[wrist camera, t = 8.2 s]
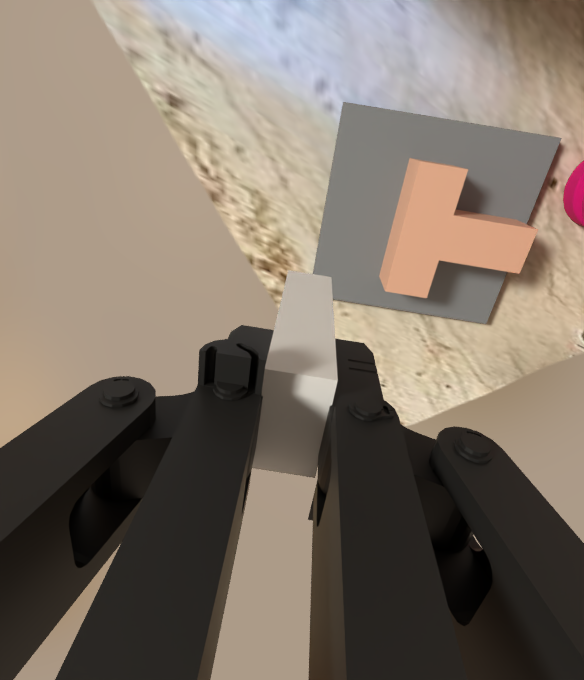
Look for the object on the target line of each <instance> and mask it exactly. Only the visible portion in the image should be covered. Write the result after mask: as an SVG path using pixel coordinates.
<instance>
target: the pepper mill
mask: <svg viewBox="0 0 584 680" xmlns="http://www.w3.org/2000/svg"><path fill="white" fill-rule="evenodd" d="M563 201H564V208H565V211H566V213H567V215H568V216H569V217H570V218H571V219H572V220H573V221H574V222H575V223H577V224H579V225H581V226H584V161H583V162H582V163H580V164H579V165H578V166H577V167H576V169H575V170H574V171H573V173H572V174H571V176H570V177H569V179H568V182H567V184H566V186H565V190H564V198H563Z"/></svg>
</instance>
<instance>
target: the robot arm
mask: <svg viewBox="0 0 584 680" xmlns="http://www.w3.org/2000/svg"><path fill="white" fill-rule="evenodd" d="M317 467H318V480H317V484H316V488H315V493H314V497H313V501H312V505H311V510H310V514H309V518H308V519H309V520H313V543H312V578H311V580H312V581H311V615H310V652H309V680H584V543H583V542H582V541H581V540H580V538H578V536H577V535H576V534H575V533H574V531H573V530H572V529H571V528H570V527H569V526H568V525H567V523H566V522H565V521H564V520H563V519H562V518H561V517H560V515H559V514H558V513H557V512H556V511H555V509H554V508H553V507H552V506H551V505H550V504H549V502H548V501H547V500H546V499H545V498H544V497H543V496H542V494H541V493H540V492H539V491H538V490H537V489H536V487H535V486H534V485H533V484H532V483H531V482H530V480H529V479H528V478H527V477H526V476H525V475H524V474H523V472H522V471H521V470H520V469H519V468H518V467H517V465H516V464H515V463H514V462H513V461H512V460H511V458H510V457H509V456H508V455H507V454H506V453H505V451H504V450H503V449H502V448H501V447H499V446H498V445H497V444H496V443H495V442H494V441H493V440H491V439H490V438H488V437H486V436H484V435H483V434H481V433H479V432H477V431H473V430H471V429H467V428H462V427H449V428H445V429H444V430H442V431H441V432H440V433H439V434H438V436H437V439H436V440H435V439H432V438H429V437H427V436H424V435H422V434H419V433H416V432H414V431H412V430H410V429H407V428H406V427H404V426H402V425H401V424H400V420H399V417H398V415H397V413H396V411H395V409H394V408H393V407H392V406H391V405H390V404H389V403H387V402H386V401H384V400H383V395H382V391H381V386H380V382H379V378H378V374H377V369H376V365H375V360H374V356H373V353H372V352H371V351H370V349H369V348H368V347H367V346H366V345H365V344H364V343H359V342H353V341H346V340H340V339H335V328H334V311H333V295H332V279H331V277H328V276H322V275H315V274H309V273H303V272H297V271H290V270H288V274H287V278H286V283H285V287H284V291H283V295H282V299H281V303H280V307H279V311H278V316H277V320H276V324H275V328H274V330H268V329H263V328H257V327H250V326H243V325H241V326H240V327H238V328H236V329H235V330H233V331H232V332H231V333H230V335H229V337H228V339H225V340H217V341H213V342H210V343H208V344H206V345H204V346H203V347H202V348H201V349H200V351H199V372H198V386H197V388H196V390H195V391H194V392H191V393H188V394H184V395H176V396H159V397H155V389H154V388H153V386H152V385H151V384H150V383H148V382H146V381H144V380H143V379H140V378H135V377H129V376H127V377H124V376H123V377H112V378H108V379H105V380H101V381H99V382H97V383H95V384H93V385H91V386H89V387H88V388H86V389H85V390H83V391H82V392H80V393H79V394H78V395H76V396H75V397H73V398H72V399H70V400H69V401H67V402H66V403H65V404H63V405H62V406H60V407H59V408H57V409H56V410H54V411H53V412H52V413H50V414H49V415H47V416H46V417H44V418H43V419H42V420H40V421H39V422H37V423H36V424H34V425H33V426H31V427H30V428H29V429H27V430H26V431H24V432H23V433H21V434H20V435H19V436H17V437H16V438H14V439H13V440H11V441H10V442H8V443H7V444H6V445H4V446H3V447H2V448H0V680H13V679H14V678H15V677H16V676H17V674H18V673H19V672H20V670H21V669H22V668H23V667H24V665H25V664H26V663H27V661H28V660H29V659H30V658H31V656H32V655H33V654H34V652H35V651H36V650H37V649H38V648H39V646H40V645H41V644H42V642H43V641H44V640H45V639H46V637H47V636H48V635H49V634H50V632H51V631H52V630H53V629H54V627H55V626H56V625H57V623H58V622H59V621H60V620H61V618H62V617H63V616H64V615H65V613H66V612H67V611H68V609H69V608H70V607H71V606H72V604H73V603H74V602H75V601H76V599H77V598H78V597H79V596H80V594H81V593H82V592H83V590H84V589H85V588H86V587H87V585H88V584H89V583H90V582H91V580H92V579H93V578H94V576H95V575H96V574H97V573H98V571H99V570H100V569H101V568H102V566H103V565H104V564H105V563H106V561H107V560H108V559H109V558H110V556H111V555H112V554H113V552H114V551H115V550H116V549H117V547H118V546H119V544H121V545H120V547H119V549H118V551H117V553H116V555H115V557H114V559H113V561H112V564H111V565H110V568H109V570H108V572H107V574H106V576H105V578H104V580H103V582H102V584H101V586H100V588H99V590H98V592H97V594H96V596H95V598H94V601H93V603H92V605H91V607H90V609H89V611H88V613H87V615H86V617H85V619H84V621H83V623H82V625H81V627H80V630H79V632H78V634H77V636H76V638H75V640H74V642H73V644H72V646H71V648H70V650H69V652H68V654H67V656H66V658H65V660H64V663H63V665H62V667H61V669H60V671H59V673H58V675H57V677H56V679H55V680H210V678H211V673H212V668H213V663H214V658H215V653H216V648H217V643H218V638H219V633H220V628H221V623H222V618H223V614H224V608H225V604H226V599H227V594H228V589H229V584H230V579H231V574H232V568H233V564H234V559H235V554H236V549H237V544H238V539H239V534H240V529H241V524H242V519H243V514H244V510H245V505H246V500H247V495H248V490H249V484H250V476H251V469H252V468H256V469H262V470H269V471H275V472H281V473H288V474H294V475H300V476H307V477H313V478H315V476H316V471H317ZM473 534H474V535H475V537H476V539H477V540H478V542H479V543H480V545H481V546H482V548H483V549H482V548H481V547H480V546H479V544H478V543H477V542H476V540H475V538H474V537H473ZM121 542H122V543H121Z"/></svg>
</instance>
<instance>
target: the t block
mask: <svg viewBox="0 0 584 680" xmlns="http://www.w3.org/2000/svg"><path fill="white" fill-rule="evenodd" d="M467 172H468V169H465V168H461V167H457V166H453V165H448V164H442V163H436V162H430V161H424V160H418V159H412V158H410V159H409V163H408V166H407V170H406V174H405V178H404V182H403V186H402V190H401V193H400V197H399V201H398V205H397V209H396V213H395V217H394V221H393V224H392V228H391V232H390V236H389V240H388V244H387V248H386V251H385V255H384V259H383V263H382V267H381V271H380V275H379V277H380V280H381V282H382V285H383V287H384V290H385V291H386V292H392V293H398V294H404V295H410V296H416V297H422V298H427V296H428V293H429V290H430V286H431V283H432V280H433V277H434V274H435V271H436V268H437V265H438V262H439V260H440V261H446V262H452V263H458V264H464V265H470V266H476V267H482V268H488V269H494V270H500V271H506V272H512V273H518V274H520V271H521V269H522V267H523V264H524V262H525V260H526V257H527V255H528V252H529V250H530V248H531V245H532V243H533V241H534V238H535V236H536V234H537V231H538V229H536V228H534V227H531V226H529V225H527V224H525V223H523V222H520V221H518V220H516V219H510V218H504V217H498V216H492V215H486V214H480V213H474V212H468V211H462V210H456V206H457V203H458V200H459V197H460V194H461V191H462V188H463V184H464V181H465V178H466V175H467Z"/></svg>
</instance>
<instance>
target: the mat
mask: <svg viewBox="0 0 584 680" xmlns="http://www.w3.org/2000/svg"><path fill="white" fill-rule="evenodd" d="M560 140H561V138H558V137H552V136H546V135H540V134H534V133H528V132H522V131H516V130H509V129H503V128H497V127H491V126H485V125H479V124H473V123H467V122H461V121H455V120H449V119H443V118H437V117H431V116H425V115H419V114H413V113H407V112H401V111H395V110H389V109H383V108H377V107H371V106H365V105H358V104H352V103H346V102H343V106H342V112H341V118H340V123H339V129H338V135H337V140H336V146H335V152H334V157H333V163H332V169H331V174H330V180H329V186H328V191H327V197H326V203H325V208H324V214H323V220H322V225H321V231H320V237H319V242H318V248H317V254H316V259H315V265H314V271H313V274H315V275H322V276H328V277H331V279H332V295H333V299H335V300H341V301H347V302H353V303H359V304H366V305H372V306H378V307H384V308H390V309H396V310H403V311H409V312H415V313H421V314H427V315H434V316H440V317H446V318H452V319H458V320H465V321H471V322H477V323H483V324H486V323H487V321H488V318H489V316H490V313H491V311H492V308H493V306H494V303H495V301H496V299H497V296H498V294H499V291H500V289H501V286H502V284H503V281H504V279H505V276H506V274H507V272H506V271H500V270H494V269H488V268H482V267H476V266H470V265H464V264H458V263H452V262H446V261H440V260H439V262H438V265H437V268H436V271H435V274H434V277H433V280H432V283H431V286H430V290H429V293H428V296H427V298H422V297H416V296H410V295H404V294H398V293H392V292H386V291H385V290H384V287H383V285H382V282H381V280H380V277H379V275H380V271H381V267H382V263H383V259H384V255H385V251H386V248H387V244H388V240H389V236H390V232H391V228H392V224H393V221H394V217H395V213H396V209H397V205H398V201H399V197H400V193H401V190H402V186H403V182H404V178H405V174H406V170H407V166H408V163H409V159H410V158H412V159H418V160H424V161H430V162H436V163H442V164H448V165H453V166H457V167H461V168H465V169H468V172H467V175H466V178H465V181H464V184H463V188H462V191H461V194H460V197H459V200H458V203H457V206H456V210H462V211H468V212H474V213H480V214H486V215H492V216H498V217H504V218H510V219H516V220H518V221H520V222H523V223H525V224H527V222H528V220H529V217H530V215H531V212H532V210H533V207H534V205H535V202H536V200H537V197H538V195H539V192H540V190H541V187H542V185H543V182H544V180H545V178H546V175H547V173H548V170H549V168H550V165H551V163H552V160H553V158H554V155H555V153H556V150H557V148H558V145H559V143H560Z"/></svg>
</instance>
